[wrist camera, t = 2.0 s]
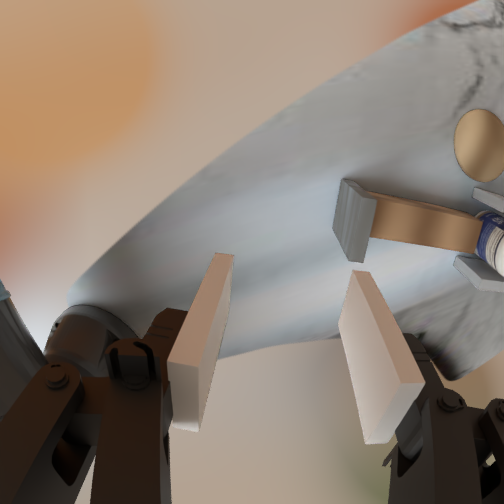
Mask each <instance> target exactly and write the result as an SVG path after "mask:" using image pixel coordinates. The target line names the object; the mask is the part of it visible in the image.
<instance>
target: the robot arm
mask: <svg viewBox="0 0 504 504" xmlns="http://www.w3.org/2000/svg"><path fill="white" fill-rule="evenodd" d="M233 260H234V255H229V254H221V253H215V255H214V257H213V259H212V261H211V263H210V266H209V268H208V270H207V272H206V274H205V276H204V279H203V281H202V283H201V285H200V287H199V290H198V292H197V294H196V296H195V298H194V301H193V303H192V305H191V307H190V309H189V311H183V310H177V309H171V308H166V309H165V310H163V311H162V312H160V313H159V314H158V315H156V317H155V319H154V320H153V322H152V324H151V327H149V329H148V331H147V333H146V335H145V336H144V338H143V339H139V338H138V337H137V336H136V335H135V334H134V332H133V331H132V330H131V329H130V328H129V327H128V326H127V325H126V324H124V323H123V322H122V321H121V320H119V319H118V318H117V317H115V316H114V315H112V314H110V313H108V312H106V311H104V310H102V309H99V308H96V307H93V306H88V305H77V306H72V307H70V308H68V309H66V310H65V311H64V312H63V313H62V314H61V315H60V316H59V317H58V318H57V320H56V321H55V322H54V324H53V326H52V329H51V332H50V335H49V337H48V340H47V343H46V346H45V350H44V352H43V353H42V351H41V350H40V348H39V347H38V345H37V344H36V342H35V340H34V339H33V337H32V336H31V334H30V332H29V331H28V329H27V327H26V326H25V324H24V322H23V320H22V319H21V317H20V315H19V314H18V312H17V310H16V308H15V306H14V304H13V302H12V301H11V299H10V296H11V294H10V292H9V291H7V290H6V289H5V287H4V285H3V283H2V281H1V280H0V504H74V503H75V501H76V499H77V496H78V494H79V491H80V489H81V487H82V485H83V482H84V480H85V478H86V475H87V473H88V471H89V469H90V466H91V464H92V462H93V460H94V457H95V455H96V457H95V465H94V472H93V480H92V489H91V499H90V504H172V502H171V482H170V449H169V433H168V430H169V426H170V424H171V421H172V420H173V427H175V428H180V429H184V430H190V431H195V432H199V431H200V426H201V422H202V418H203V414H204V410H205V406H206V402H207V398H208V394H209V390H210V385H211V382H212V377H213V374H214V370H215V365H216V362H217V358H218V354H219V350H220V346H221V342H222V338H223V334H224V330H225V326H226V322H227V318H228V314H229V306H230V294H231V283H232V271H233ZM338 327H339V331H340V334H341V338H342V342H343V346H344V350H345V354H346V358H347V363H348V367H349V371H350V375H351V380H352V384H353V389H354V393H355V397H356V402H357V406H358V411H359V416H360V421H361V426H362V430H363V436H364V440H365V444H382V443H387V442H388V441H389V440H390V438H391V437H392V436H393V434H394V433H395V434H396V437H397V441H398V443H397V444H396V445H395V447H394V448H393V449H392V451H391V452H390V453H389V455H388V456H387V457H386V459H385V460H384V462H383V465H382V466H386V465H387V464H388V463H389V461H390V460H391V459H392V462H391V465H390V467H391V478H390V489H389V499H388V504H504V399H497V398H496V399H493V400H491V402H490V403H489V404H488V406H487V407H486V408H485V409H479V408H473V407H467V405H466V403H465V400H464V399H463V398H462V397H461V396H460V395H459V394H458V393H456V392H455V391H453V390H450V389H447V388H444V386H443V384H442V382H441V380H440V378H439V376H438V374H437V372H436V370H435V368H434V366H433V364H432V362H430V358H429V356H428V354H426V351H425V349H424V347H423V345H422V343H421V342H420V341H419V340H418V339H417V338H416V337H415V336H414V335H412V334H408V333H402V332H401V330H400V328H399V326H398V324H397V323H396V321H395V319H394V317H393V315H392V313H391V311H390V309H389V307H388V305H387V303H386V302H385V300H384V298H383V296H382V294H381V292H380V290H379V289H378V287H377V285H376V283H375V281H374V280H373V278H372V276H371V274H370V272H365V271H356V270H352V274H351V278H350V282H349V286H348V290H347V293H346V297H345V301H344V304H343V308H342V312H341V315H340V319H339V322H338ZM492 454H493V455H494V457H495V460H496V461H495V462H494V463H493V464H492V465H491V466H489V465H487V463H486V460H487V459H488V458H489V457H490V456H491V455H492Z"/></svg>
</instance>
